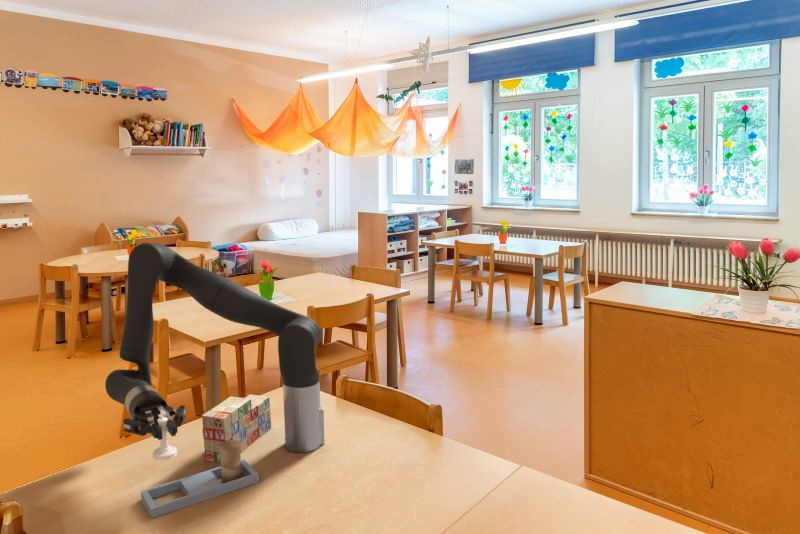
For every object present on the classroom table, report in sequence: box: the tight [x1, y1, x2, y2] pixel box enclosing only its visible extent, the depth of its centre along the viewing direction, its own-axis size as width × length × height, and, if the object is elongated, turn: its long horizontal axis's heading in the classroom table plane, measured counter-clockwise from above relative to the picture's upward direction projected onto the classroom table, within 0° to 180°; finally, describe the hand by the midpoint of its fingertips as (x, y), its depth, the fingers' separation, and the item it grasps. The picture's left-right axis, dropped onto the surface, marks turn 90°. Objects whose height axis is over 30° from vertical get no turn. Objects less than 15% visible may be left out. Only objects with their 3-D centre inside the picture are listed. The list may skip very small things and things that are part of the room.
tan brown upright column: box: [220, 440, 243, 484], centre depth 138 cm, size 4×4×9 cm
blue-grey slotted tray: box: [140, 459, 260, 519], centre depth 134 cm, size 24×8×2 cm, turn 126°
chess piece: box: [152, 410, 178, 461], centre depth 128 cm, size 5×5×10 cm
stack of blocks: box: [201, 394, 272, 465], centre depth 156 cm, size 21×6×12 cm, turn 162°
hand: (167, 433), depth 125 cm, fingers closed on chess piece
